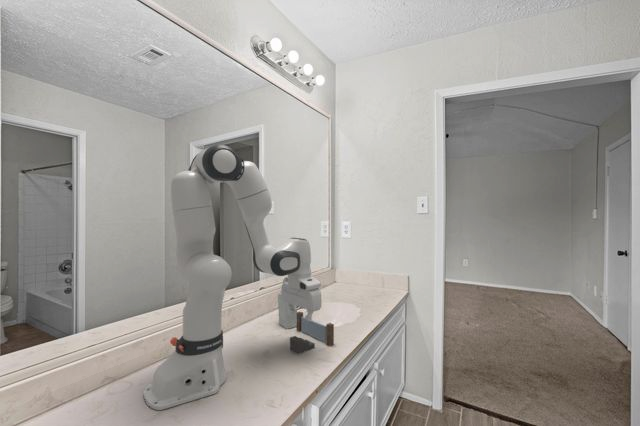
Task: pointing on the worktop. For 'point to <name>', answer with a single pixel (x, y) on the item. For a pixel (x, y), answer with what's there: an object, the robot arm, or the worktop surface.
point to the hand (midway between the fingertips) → (300, 317)
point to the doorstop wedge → (300, 345)
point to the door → (313, 329)
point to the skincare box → (286, 314)
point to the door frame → (328, 329)
